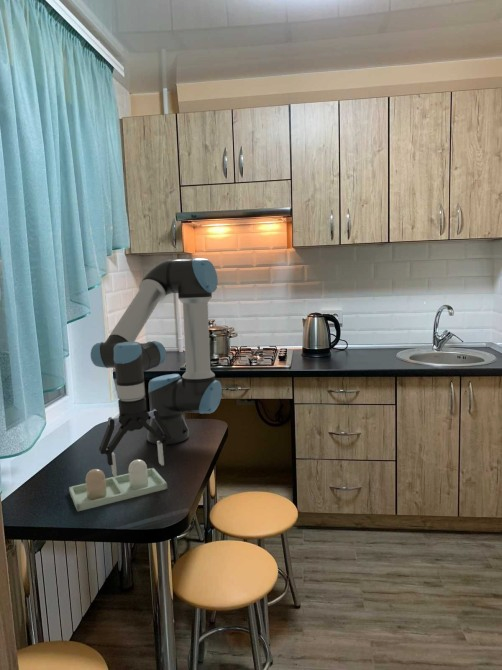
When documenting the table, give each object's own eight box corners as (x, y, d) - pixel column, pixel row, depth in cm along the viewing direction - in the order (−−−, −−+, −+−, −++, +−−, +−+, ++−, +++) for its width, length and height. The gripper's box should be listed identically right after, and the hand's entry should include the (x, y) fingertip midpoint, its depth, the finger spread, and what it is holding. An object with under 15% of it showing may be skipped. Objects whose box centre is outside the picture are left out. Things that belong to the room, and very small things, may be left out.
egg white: (145, 480, 151) (143, 455, 150) (150, 486, 146) (148, 460, 145) (127, 484, 149) (125, 459, 148) (132, 490, 144) (130, 464, 143)
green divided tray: (153, 475, 156) (153, 467, 156) (167, 491, 145) (167, 483, 144) (69, 495, 145) (69, 487, 145) (77, 514, 134) (76, 505, 133)
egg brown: (104, 489, 146) (102, 464, 145) (108, 497, 141) (106, 470, 140) (85, 494, 143) (83, 468, 142) (89, 501, 139) (86, 475, 138)
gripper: (170, 387, 153) (175, 455, 156) (83, 402, 141) (91, 475, 145) (178, 392, 146) (184, 463, 149) (88, 409, 135) (96, 485, 138)
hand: (138, 469), depth 147 cm, fingers open, 13 cm apart
